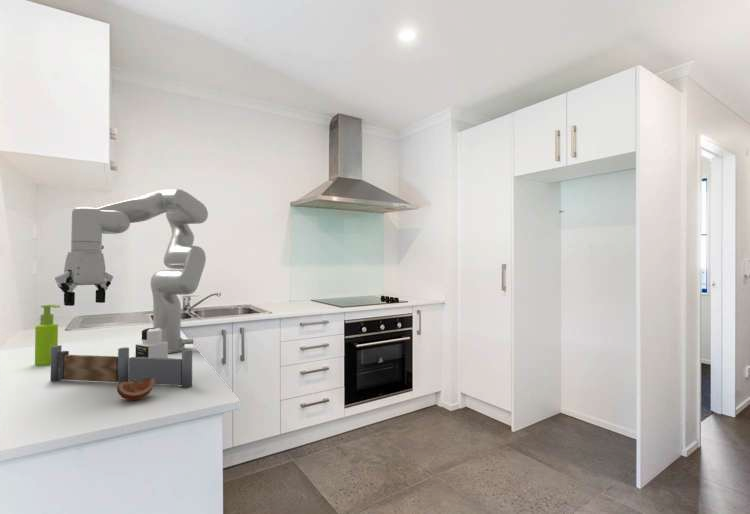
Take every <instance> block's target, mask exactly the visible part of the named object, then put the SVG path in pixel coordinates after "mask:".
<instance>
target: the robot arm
mask: <svg viewBox="0 0 750 514" xmlns="http://www.w3.org/2000/svg"><path fill="white" fill-rule="evenodd" d="M164 213H165V217H166V219H167V222H168V224H169V226H170V229H171V237H170V239H169V243H168V244H167V248H166V251H165V254H164V257H163V264H164V265H165V267H167V268H168V269H163V270H158V271H156V272H155V273H153V275H152V276H151V279H150V289H151V293H152V301H153V302H152V303H153V305H152V306H153V308H152V311H153V312H152V313H153V315H152V322H153V323H152V328H160V329H162V340H161V341H164V342H168V354H173V353H178V352H179V353H180V352H182V351H183V350H186V349H185V348H186V347H185V345H193V344H194V338H186V339H184V338H183V337H181V328H182V327H181V324H182V323H181V321H182V320H181V313H182V312H181V311H182V307H181V306H182V305H181V302H180V299H179V297H178V295H179V296H181V295H182V296H184V295H185V296H186V295H191V294H193V293H195V292H196V291H197V289H198V287H199V284H200V281H201V278H202V275H203V272H204V269H205V266H206V259H207V258H206V257H207V256H206V252H205V250H204V248H202V247H201V246H198V245H193V244H194V243H195V242H194V241H195V235H194V233H193V231H192V229H191V227H190V225H193V224H194V225H198V224H203V223H205V222H206V221H207V219H208V217H209V212H208V209H207V207H206V205H205V204H204V203H203V202H201V201H200V200H198V199H197V198H196V197H194V196H193V195H191V194H190V193H188V192H187V191H185V190H184V189H183V190H182V189H179V188H177V189H176V188H174V189H171V188H169V189H160V190H155V191H152V192H149V193H146V194H144V195H141V196H138V197H135V198H132V199H131V198H130V199H126V200H123V201H119V202H115V203H109V204H106V205H104V206H99V207H97V208H96V207H87V206H82V207H81V206H79V207H78V206H77V207H74V208H73V209H72V212H71V234H70V235H71V240H70V241H71V242H70V246H71V247H70V250H71V251H69V252H67V255H66V258H65V262H64V268H63V272H62V273H61V274H59V275H57V276H55V278H54V280H55V282H56V283H57V287H58V288H59V289H60V290H61V292H62V293H63V305H64V306H66V307H71V306H72V307H73V306H75V301H76V300H75V299H76V294H75V293H76V292H75V291H74V290H75V289H76V288H77V287H78V286H91V285H94V286H95V288H97V289H95V303H97V304H98V303H99V304H104V303H106V291H107V290H108V289H109V286H110V285H111V284H112V281H113V279H114V276H113V275H112V274H110V273H108V272H106V262H105V258H104V257H105V256H104V252H102V251H103V250H104V249H105V246H104V245H103V244H102V242H103V239H102V238H103V235H104V234H105V235H107V234H108V235H109V234H110V235H112V234H113V235H115V234H116V235H117V234H122V233H124V232H126V231H128V229H129V228H130V225H131V224H134V223H142V222H145V221H149V220H151V219H153V218H155V217H158V216H161V215H163V214H164Z"/></svg>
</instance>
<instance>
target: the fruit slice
mask: <svg viewBox="0 0 750 514" xmlns="http://www.w3.org/2000/svg"><path fill="white" fill-rule="evenodd" d="M116 383H117V384H116V391H117V393H118V395H119V396H120V397H121V399H123V400H127V401H136V400H137V401H138V400H141V399H143V398H145V397H147V396H148V395H149V394H150V393H151V391H152V390H153V389H154V387H155V385H156V384H155V378H148V379H143V380H141V381H139V382H137V381H128V382H120V383H118V382H116Z"/></svg>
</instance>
